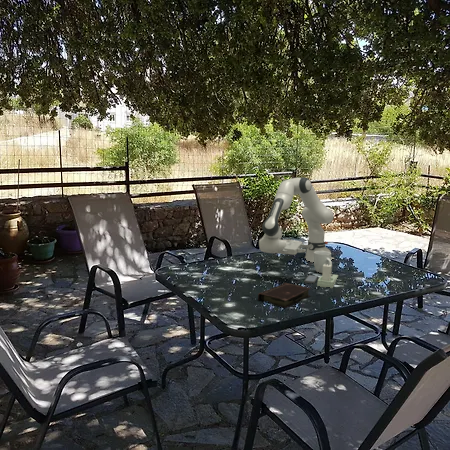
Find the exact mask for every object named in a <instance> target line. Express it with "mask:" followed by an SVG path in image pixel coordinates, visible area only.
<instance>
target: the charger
mask: <svg viewBox="0 0 450 450" xmlns="http://www.w3.org/2000/svg"><path fill="white" fill-rule="evenodd" d="M332 269H333V264H332V265H329V264H327V263H325V264H324V265H323V272H322V273H321V274H322V275H321V277H322V281H331V274H332Z"/></svg>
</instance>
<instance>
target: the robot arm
mask: <svg viewBox="0 0 450 450" xmlns="http://www.w3.org/2000/svg"><path fill="white" fill-rule="evenodd" d="M294 195H296V196H297V195H299V197H300V199H301V202H302V203H303V205H304V208H303V209H302V212H301V215H302V218H303V219H304V220H305V223H306V225H307V228H308V240H307V244H304V243H303V242H302V241H301V240H293V239H289V238H288V239H282V236H283V232H282V229H281V227H280V226H279V225H280V224H279V218H280V216H281V212H282V211H283V210H288V209H289V208H291V204H292V202H293V200H294V199H293V198H294ZM334 216H335V215H334V212H333V210H331V209H330V208H328V207H327V206H326V205H325V204H324V203H323V202H322V201H321V199H320V197H319V196H318V193H317V192H316V190H315V188H314V186H313V184H312V182H311V180H310V179H309V178H308V177H293V178H287V179H283V180H282V181H281V182H280V184H279V186H278V188H277V191H276V193H275V197H274V200H273V203H272V206H271V208H270V210H269V212H268V216H267V218H266V219H265V220H264V221H263V223H262V226H261V228H262V232H263V233H264V235H263V236H262V237H261V238H259V240H258V247H259V250H260V251H261V252H263V253H267V254H278V255H293V256H295V255H297V254H298V253H305V256H304V259H305V258H306V260H307V261H306V260H305V261H306V262H308V261H310V262H309V263H313V262H314V252H315V251H327V252H330V253H331V254H332V252H331V250H330V249H329V248H328V247H326V245H328V241H325V235H326V234H325V230H324V228H323V227H322V226H321V224H323V225H324V224H325V225H326V224H331V223H332V222H333V220H334V219H335V218H334ZM332 259H334V260H335V257H334V256H333V257H332V256H331V260H332ZM332 261H333V260H332Z"/></svg>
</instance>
